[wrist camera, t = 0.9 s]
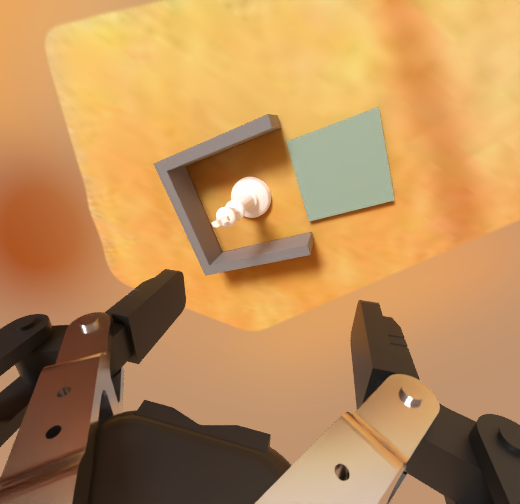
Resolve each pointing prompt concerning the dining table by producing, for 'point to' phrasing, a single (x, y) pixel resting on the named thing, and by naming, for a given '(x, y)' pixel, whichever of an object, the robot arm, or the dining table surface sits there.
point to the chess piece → (244, 202)
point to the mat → (342, 166)
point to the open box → (194, 213)
